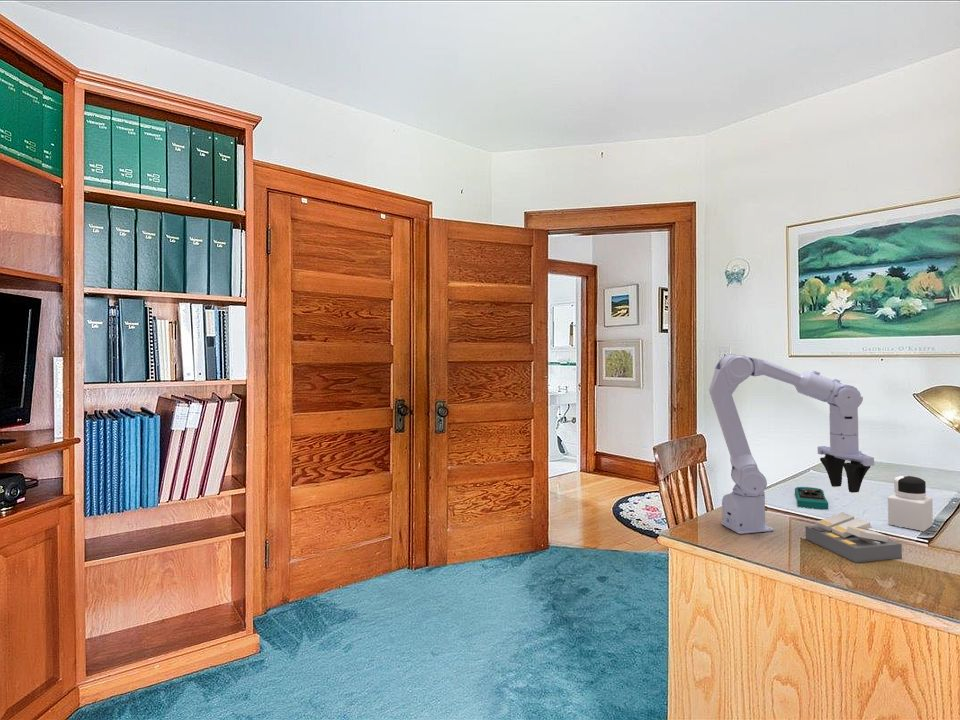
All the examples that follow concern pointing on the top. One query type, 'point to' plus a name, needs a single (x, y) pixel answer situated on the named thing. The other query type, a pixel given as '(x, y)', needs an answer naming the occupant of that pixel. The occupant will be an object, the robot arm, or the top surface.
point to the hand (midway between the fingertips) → (844, 489)
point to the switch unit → (854, 545)
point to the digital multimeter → (811, 498)
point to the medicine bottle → (910, 504)
